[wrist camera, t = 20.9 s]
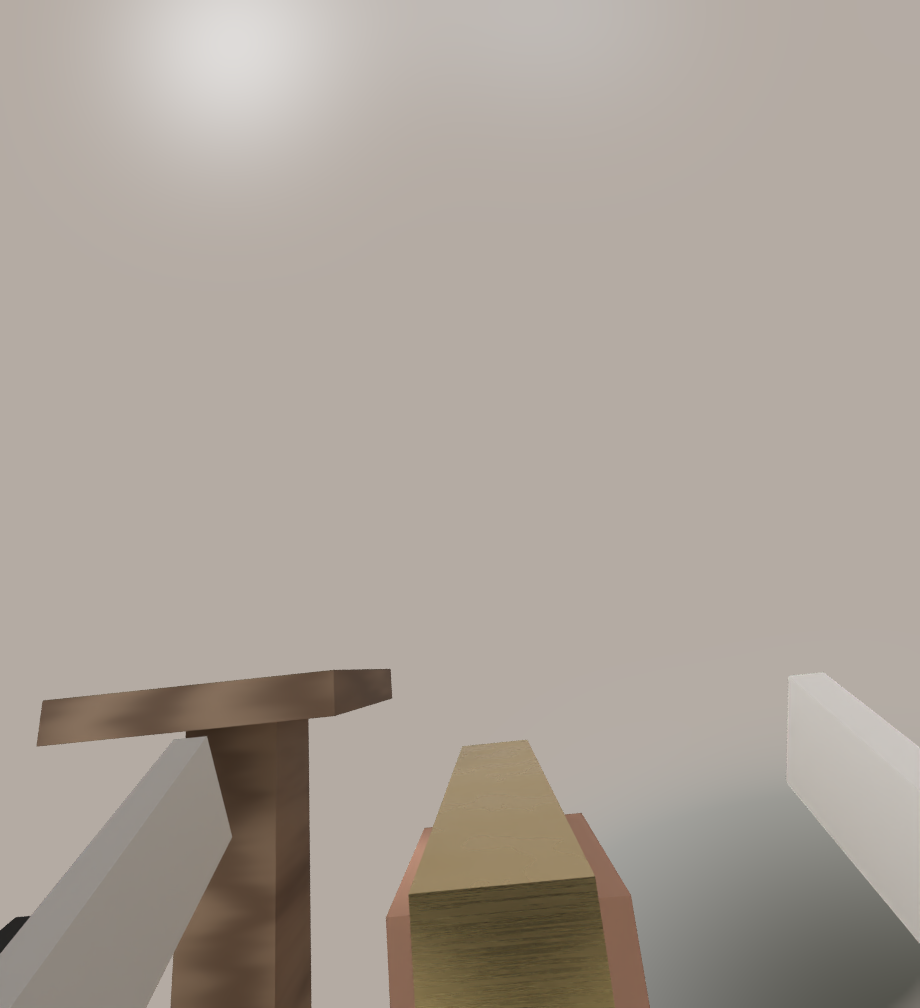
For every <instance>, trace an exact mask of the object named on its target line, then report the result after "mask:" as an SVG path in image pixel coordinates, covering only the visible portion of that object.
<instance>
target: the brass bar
mask: <svg viewBox="0 0 920 1008" xmlns="http://www.w3.org/2000/svg"><path fill="white" fill-rule="evenodd" d="M408 896H409V913H410V930H411V947H412V964H413V981H414V998H415V1008H615V1004H614V997H613V990H612V984H611V977H610V971H609V964H608V958H607V951H606V945H605V938H604V931H603V925H602V918H601V912H600V905H599V899H598V892H597V886H596V879H595V875H594V873H593V871H592V869H591V867H590V865H589V863H588V861H587V859H586V857H585V855H584V853H583V851H582V849H581V847H580V845H579V843H578V841H577V839H576V837H575V835H574V833H573V831H572V829H571V827H570V825H569V823H568V821H567V819H566V817H565V815H564V813H563V811H562V809H561V807H560V805H559V803H558V801H557V799H556V797H555V795H554V793H553V791H552V789H551V787H550V785H549V783H548V781H547V779H546V777H545V775H544V773H543V771H542V769H541V767H540V765H539V763H538V761H537V759H536V757H535V755H534V753H533V751H532V749H531V747H530V745H529V743H528V741H527V740H521V741H511V742H500V743H491V744H481V745H472V746H463V747H462V749H461V752H460V755H459V757H458V760H457V763H456V765H455V768H454V771H453V773H452V776H451V779H450V782H449V785H448V787H447V790H446V793H445V795H444V798H443V801H442V803H441V806H440V809H439V812H438V814H437V817H436V820H435V823H434V825H433V828H432V831H431V834H430V836H429V839H428V842H427V844H426V847H425V850H424V853H423V855H422V858H421V861H420V864H419V866H418V869H417V872H416V875H415V877H414V880H413V883H412V885H411V888H410V891H409V894H408Z"/></svg>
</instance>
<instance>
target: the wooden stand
mask: <svg viewBox="0 0 920 1008" xmlns="http://www.w3.org/2000/svg"><path fill="white" fill-rule="evenodd" d="M390 671H391V670H390V669H362V670H330V671H320V672H310V673H301V674H291V675H282V676H272V677H263V678H253V679H244V680H234V681H225V682H215V683H207V684H197V685H187V686H177V687H168V688H158V689H149V690H140V691H130V692H120V693H111V694H101V695H92V696H83V697H73V698H63V699H54V700H44V701H43V703H42V710H41V717H40V725H39V732H38V740H37V746H47V745H56V744H66V743H76V742H85V741H94V740H105V739H115V738H124V737H134V736H144V735H154V734H163V733H173V732H183V731H186V738H194V737H204V736H207V738H208V742H209V746H210V750H211V754H212V758H213V762H214V766H215V770H216V774H217V778H218V782H219V786H220V790H221V794H222V798H223V802H224V806H225V810H226V814H227V818H228V822H229V826H230V830H231V834H232V838H231V840H230V842H229V844H228V846H227V848H226V850H225V852H224V854H223V856H222V858H221V860H220V862H219V864H218V866H217V868H216V870H215V872H214V874H213V876H212V878H211V880H210V882H209V884H208V886H207V888H206V890H205V892H204V894H203V896H202V898H201V900H200V902H199V904H198V906H197V908H196V910H195V912H194V914H193V916H192V918H191V920H190V922H189V924H188V926H187V928H186V929H185V931H184V933H183V935H182V937H181V939H180V941H179V943H178V945H177V947H176V949H175V951H174V956H173V973H172V991H171V1008H311V937H310V936H311V934H310V933H311V932H310V930H311V929H310V831H309V741H308V740H309V736H308V719H310V718H319V717H329V716H336V715H339V714H342V713H346V712H349V711H352V710H356V709H359V708H362V707H365V706H369V705H372V704H375V703H379V702H381V701H385V700H388V699H391V698H392V688H391V672H390Z"/></svg>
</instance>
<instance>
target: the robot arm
mask: <svg viewBox="0 0 920 1008" xmlns="http://www.w3.org/2000/svg"><path fill="white" fill-rule="evenodd" d="M786 766H787V767H786V783H787V784H788V785H789V786H790V788H791V789H792V790H793V791H794V792H795V794H796V795H797V796H798V797H799V798H800V800H802V802H803V803H804V804H805V806H806V807H807V808H808V809H809V810H810V812H811V813H812V814H813V815H814V816H815V818H816V819H817V820H818V821H819V822H820V824H821V825H822V826H823V827H824V829H825V830H826V831H827V832H828V833H829V835H830V836H831V837H832V838H833V839H834V841H835V842H836V843H837V844H838V845H839V847H840V848H841V849H842V850H843V851H844V853H845V854H846V855H847V856H848V858H849V859H850V860H851V861H852V862H853V864H854V865H855V866H856V867H857V868H858V870H859V871H860V872H861V873H862V874H863V876H864V877H865V878H866V879H867V880H868V882H869V883H870V884H871V885H872V886H873V888H874V889H875V890H876V891H877V893H878V894H879V895H880V896H881V897H882V898H883V900H884V901H885V902H886V903H887V905H888V906H889V907H890V908H891V909H892V911H893V912H894V913H895V914H896V915H897V917H898V918H899V919H900V920H901V921H902V923H903V924H904V925H905V926H906V927H907V929H908V930H909V931H910V932H911V934H912V935H913V936H914V937H915V938H916V940H917V941H918V942H919V943H920V747H918V746H917V745H916V744H915V743H913V742H912V741H911V740H910V739H908V738H907V737H906V736H905V735H903V734H902V733H901V732H899V731H898V730H897V729H896V728H894V727H893V726H892V725H890V724H889V723H888V722H887V721H885V720H884V719H883V718H881V717H880V716H879V715H878V714H876V713H875V712H874V711H872V710H871V709H870V708H868V707H867V706H866V705H865V704H863V703H862V702H861V701H860V700H858V699H857V698H856V697H855V696H853V695H852V694H851V693H849V692H848V691H847V690H846V689H844V688H843V687H842V686H840V685H839V684H838V683H836V682H835V681H834V680H833V679H832V678H830V677H829V676H828V675H826V674H825V673H823V672H821V673H811V674H802V675H792V676H789V681H788V724H787V765H786ZM231 838H232V834H231V830H230V826H229V822H228V818H227V814H226V810H225V806H224V802H223V798H222V794H221V790H220V786H219V782H218V778H217V774H216V770H215V766H214V762H213V758H212V754H211V750H210V746H209V742H208V738H207V736H204V737H194V738H185V739H175V740H173V741H172V743H171V744H170V745H169V746H168V748H167V749H166V750H165V751H164V752H163V754H162V755H161V756H160V757H159V759H158V760H157V761H156V762H155V764H154V765H153V766H152V767H151V768H150V770H149V771H148V772H147V773H146V775H145V776H144V777H143V778H142V780H141V781H140V782H139V783H138V785H137V786H136V787H135V788H134V790H133V791H132V792H131V793H130V794H129V796H128V797H127V798H126V800H125V801H124V802H123V803H122V804H121V806H120V807H119V808H118V809H117V810H116V812H115V813H114V814H113V815H112V817H111V818H110V819H109V820H108V821H107V823H106V824H105V825H104V827H103V828H102V829H101V830H100V831H99V833H98V834H97V835H96V836H95V838H94V839H93V840H92V841H91V842H90V844H89V845H88V846H87V847H86V849H85V850H84V851H83V853H82V854H81V855H80V856H79V857H78V858H77V860H76V861H75V862H74V863H73V865H72V866H71V867H70V868H69V870H68V871H67V872H66V873H65V874H64V876H63V877H62V878H61V880H60V881H59V882H58V883H57V884H56V886H55V887H54V888H53V889H52V891H51V892H50V893H49V894H48V895H47V897H46V898H45V899H44V901H43V902H42V903H41V904H40V905H39V907H38V908H37V909H36V910H35V911H34V913H33V914H32V915H31V916H26V917H16V918H14V919H13V920H12V921H11V922H10V923H9V924H7V925H6V926H5V927H4V928H3V929H1V930H0V1008H146V1007H147V1005H148V1003H149V1001H150V999H151V997H152V995H153V993H154V991H155V989H156V987H157V985H158V983H159V981H160V979H161V977H162V975H163V973H164V971H165V969H166V967H167V965H168V963H169V961H170V959H171V957H172V955H173V953H174V951H175V949H176V947H177V945H178V943H179V941H180V939H181V937H182V935H183V933H184V931H185V929H186V928H187V926H188V924H189V922H190V920H191V918H192V916H193V914H194V912H195V910H196V908H197V906H198V904H199V902H200V900H201V898H202V896H203V894H204V892H205V890H206V888H207V886H208V884H209V882H210V880H211V878H212V876H213V874H214V872H215V870H216V868H217V866H218V864H219V862H220V860H221V858H222V856H223V854H224V852H225V850H226V848H227V846H228V844H229V842H230V840H231Z"/></svg>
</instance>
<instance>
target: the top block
mask: <svg viewBox="0 0 920 1008" xmlns="http://www.w3.org/2000/svg"><path fill="white" fill-rule="evenodd" d="M565 817H566V819H567V821H568V823H569V825H570V827H571V829H572V831H573V833H574V835H575V837H576V839H577V841H578V843H579V845H580V847H581V849H582V851H583V853H584V855H585V857H586V859H587V861H588V863H589V865H590V867H591V869H592V871H593V873H594V875H595V879H596V886H597V892H598V899H599V905H600V912H601V918H602V925H603V931H604V938H605V945H606V951H607V958H608V964H609V971H610V977H611V984H612V990H613V997H614V1004H615V1008H650V1005H649V1000H648V994H647V988H646V982H645V976H644V970H643V964H642V958H641V952H640V946H639V941H638V934H637V929H636V922H635V917H634V911H633V905H632V899H631V895H630V893H629V891H628V890H627V888H626V886H625V885H624V883H623V882H622V880H621V878H620V876H619V875H618V873H617V871H616V870H615V868H614V867H613V865H612V863H611V861H610V860H609V858H608V856H607V855H606V853H605V851H604V850H603V848H602V847H601V845H600V844H599V841H598V840H597V838H596V836H595V835H594V833H593V831H592V830H591V828H590V827H589V825H588V823H587V821H586V820H585V818H584V816H583V815H582V813H577V814H567V815H565ZM432 828H433V827H431V828H424V831H423V833H422V835H421V838H420V840H419V842H418V845H417V847H416V849H415V852H414V854H413V856H412V859H411V861H410V863H409V865H408V868H407V870H406V872H405V875H404V877H403V880H402V882H401V884H400V887H399V889H398V891H397V893H396V896H395V898H394V900H393V903H392V905H391V907H390V909H389V912H388V914H387V917H386V928H387V949H388V970H389V992H390V1008H415V998H414V981H413V964H412V947H411V930H410V913H409V896H408V894H409V891H410V888H411V885H412V883H413V880H414V877H415V875H416V872H417V869H418V866H419V864H420V861H421V858H422V855H423V853H424V850H425V847H426V844H427V842H428V839H429V836H430V834H431V831H432Z"/></svg>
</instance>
